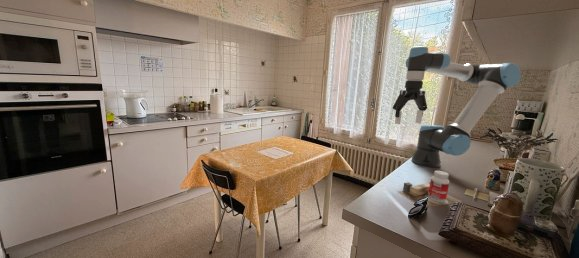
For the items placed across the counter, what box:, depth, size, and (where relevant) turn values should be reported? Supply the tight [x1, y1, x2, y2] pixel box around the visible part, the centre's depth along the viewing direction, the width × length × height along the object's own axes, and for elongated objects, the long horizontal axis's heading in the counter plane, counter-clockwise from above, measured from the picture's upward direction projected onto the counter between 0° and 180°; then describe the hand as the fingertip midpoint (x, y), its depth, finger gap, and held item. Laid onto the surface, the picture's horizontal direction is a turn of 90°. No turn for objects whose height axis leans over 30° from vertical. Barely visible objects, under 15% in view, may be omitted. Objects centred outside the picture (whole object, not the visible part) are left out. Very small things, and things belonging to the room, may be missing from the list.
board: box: [396, 182, 463, 209], centre depth 95 cm, size 20×14×5 cm
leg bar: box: [409, 181, 430, 196], centre depth 97 cm, size 14×4×4 cm, turn 114°
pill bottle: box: [428, 170, 450, 202], centre depth 92 cm, size 6×6×11 cm
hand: (408, 123), depth 118 cm, fingers open, 13 cm apart
